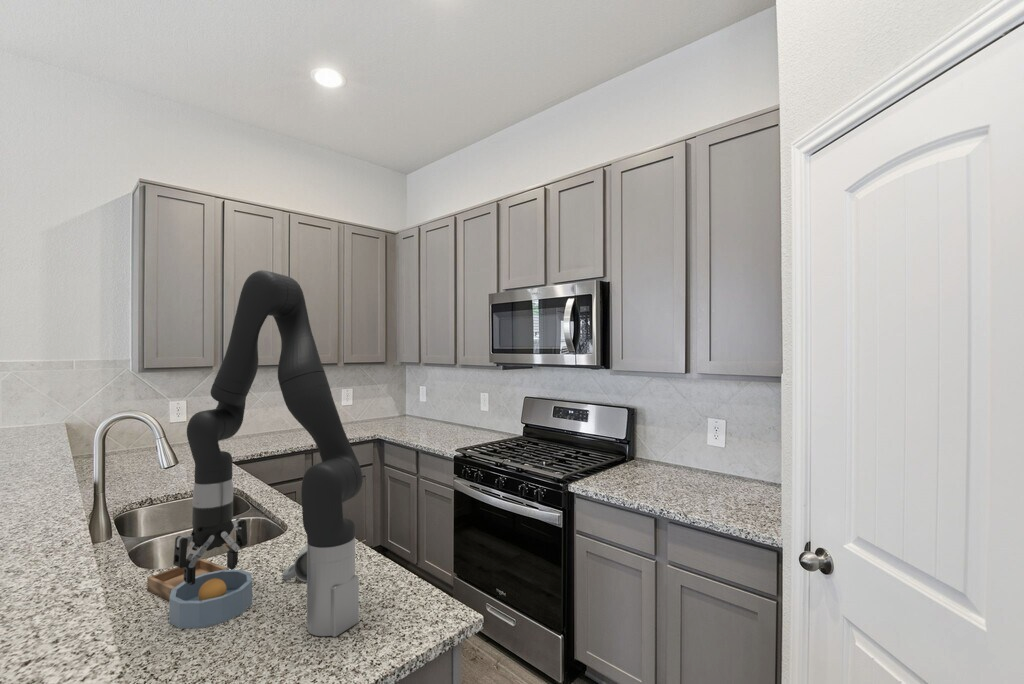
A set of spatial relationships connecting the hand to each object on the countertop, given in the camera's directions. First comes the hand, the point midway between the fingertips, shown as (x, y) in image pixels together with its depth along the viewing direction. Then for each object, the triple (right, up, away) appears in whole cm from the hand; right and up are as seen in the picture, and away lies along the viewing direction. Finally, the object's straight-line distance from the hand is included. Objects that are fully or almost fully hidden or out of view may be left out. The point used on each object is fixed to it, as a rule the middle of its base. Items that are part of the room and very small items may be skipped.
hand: (211, 575), depth 105 cm
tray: (-12, -7, +10) cm, 17 cm away
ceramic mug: (+14, -7, +15) cm, 22 cm away
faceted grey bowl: (0, -7, 0) cm, 7 cm away
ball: (0, -3, 0) cm, 3 cm away
